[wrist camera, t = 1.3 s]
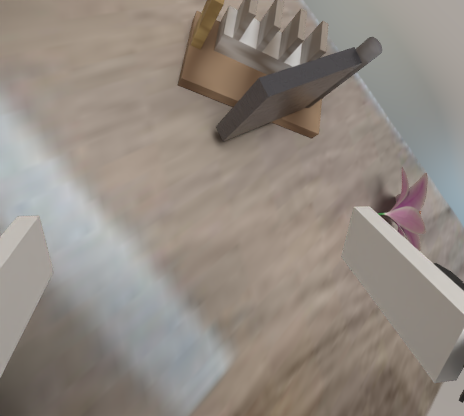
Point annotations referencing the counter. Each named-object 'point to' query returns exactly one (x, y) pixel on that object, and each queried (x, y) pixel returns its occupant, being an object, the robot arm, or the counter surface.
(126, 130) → the counter surface
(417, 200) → the lily
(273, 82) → the grey stone panel
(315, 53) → the grey model on base
